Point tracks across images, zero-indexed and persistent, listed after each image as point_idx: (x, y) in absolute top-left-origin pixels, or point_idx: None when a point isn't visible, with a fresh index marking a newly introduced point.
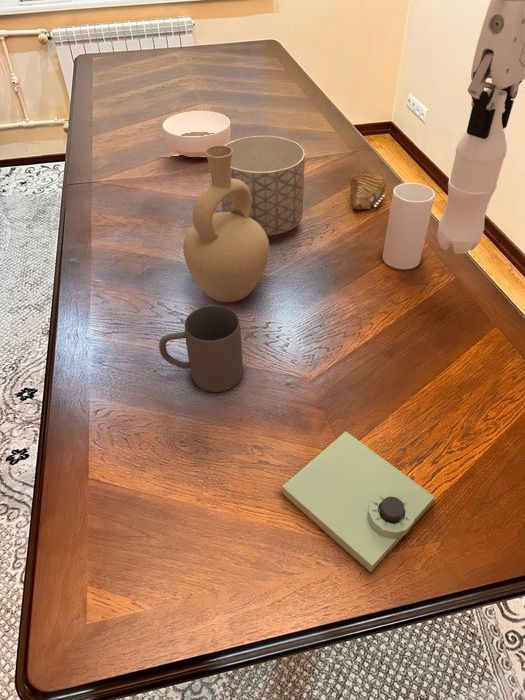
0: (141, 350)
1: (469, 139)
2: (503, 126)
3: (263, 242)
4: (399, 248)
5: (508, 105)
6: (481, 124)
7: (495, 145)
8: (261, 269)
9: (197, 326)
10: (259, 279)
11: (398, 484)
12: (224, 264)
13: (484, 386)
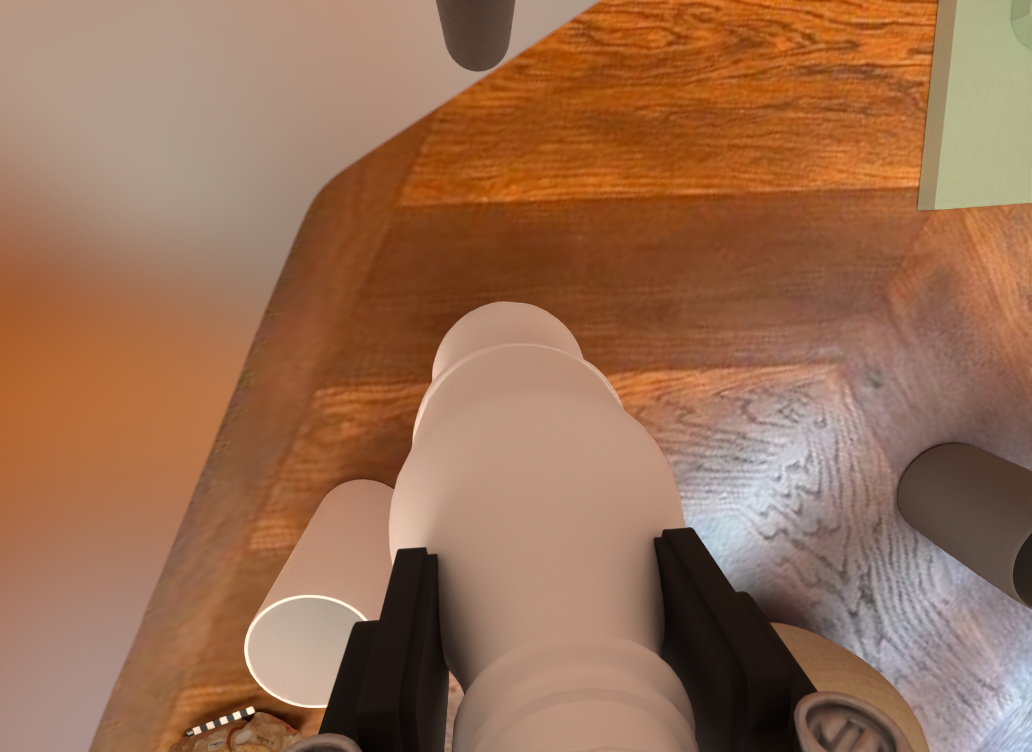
0: (986, 618)
1: None
2: (436, 559)
3: None
4: None
5: (418, 690)
6: (769, 628)
7: (608, 456)
8: None
9: (1020, 584)
10: None
11: (980, 44)
12: (901, 702)
13: (596, 100)
